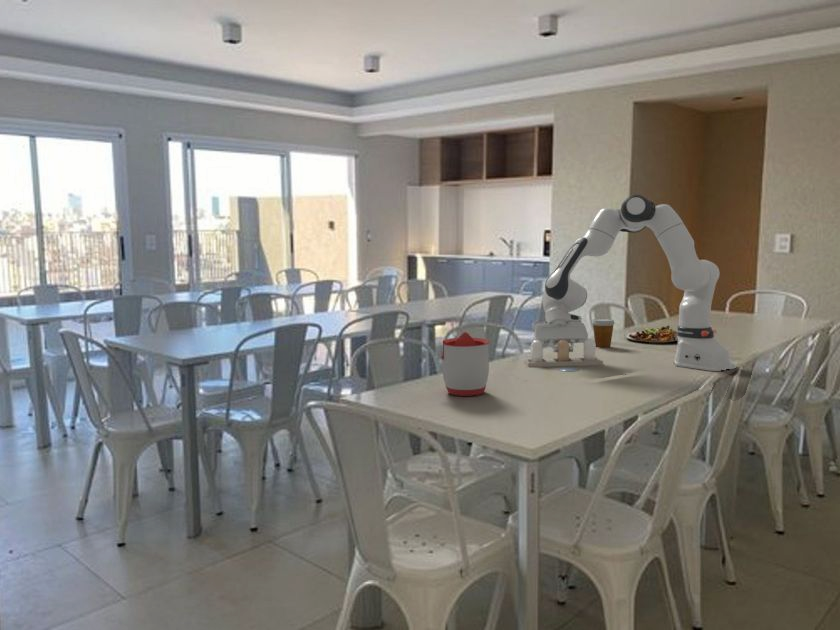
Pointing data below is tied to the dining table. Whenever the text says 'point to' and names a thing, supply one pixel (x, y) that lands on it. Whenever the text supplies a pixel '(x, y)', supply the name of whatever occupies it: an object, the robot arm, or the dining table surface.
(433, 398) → the dining table surface
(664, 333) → the plate of food
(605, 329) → the disposable coffee cup
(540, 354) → the white egg
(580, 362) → the egg tray
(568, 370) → the saucer
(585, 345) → the white rounded cylinder
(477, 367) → the citrus juicer
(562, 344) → the beige rounded cylinder
